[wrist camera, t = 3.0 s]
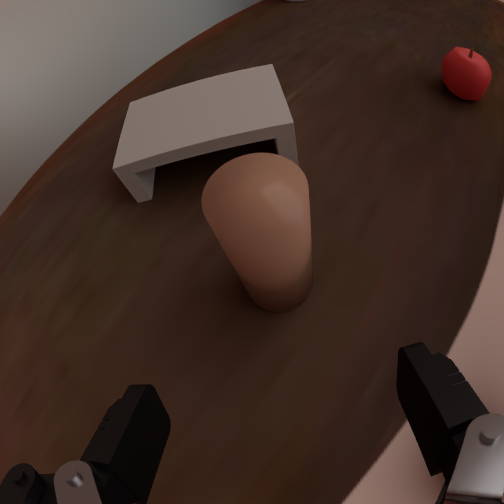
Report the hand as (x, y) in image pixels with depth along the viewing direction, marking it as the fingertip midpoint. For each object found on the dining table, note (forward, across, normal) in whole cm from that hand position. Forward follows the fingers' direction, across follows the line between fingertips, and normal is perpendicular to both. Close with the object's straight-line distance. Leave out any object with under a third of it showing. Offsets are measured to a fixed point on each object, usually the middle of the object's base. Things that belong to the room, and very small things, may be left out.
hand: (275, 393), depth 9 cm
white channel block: (+30, +5, -10) cm, 32 cm away
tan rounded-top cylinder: (+17, 0, +3) cm, 18 cm away
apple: (+34, -32, -13) cm, 48 cm away
